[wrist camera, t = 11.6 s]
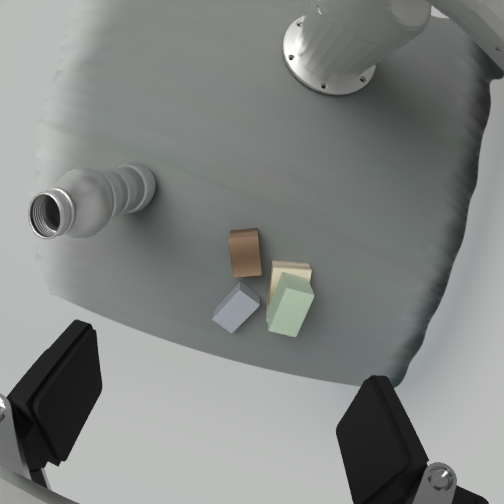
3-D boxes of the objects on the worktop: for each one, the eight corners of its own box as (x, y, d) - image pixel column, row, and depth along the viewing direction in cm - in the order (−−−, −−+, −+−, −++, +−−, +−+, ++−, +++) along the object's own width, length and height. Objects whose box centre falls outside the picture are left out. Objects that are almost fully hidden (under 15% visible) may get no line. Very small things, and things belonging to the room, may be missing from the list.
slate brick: (240, 280, 41) (239, 289, 38) (259, 295, 42) (260, 305, 39) (214, 309, 42) (211, 319, 39) (232, 322, 43) (231, 333, 40)
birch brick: (271, 259, 40) (273, 267, 37) (307, 262, 40) (311, 270, 37) (265, 310, 43) (266, 321, 40) (299, 312, 43) (302, 323, 40)
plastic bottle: (110, 171, 36) (8, 191, 17) (153, 154, 35) (64, 158, 16) (123, 215, 38) (31, 266, 19) (166, 201, 37) (89, 245, 18)
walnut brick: (230, 230, 38) (228, 238, 35) (257, 227, 38) (258, 235, 35) (235, 266, 40) (233, 277, 36) (260, 263, 40) (261, 275, 36)
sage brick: (282, 271, 37) (286, 287, 33) (307, 278, 38) (314, 295, 33) (266, 310, 39) (268, 330, 34) (290, 316, 39) (295, 337, 35)
